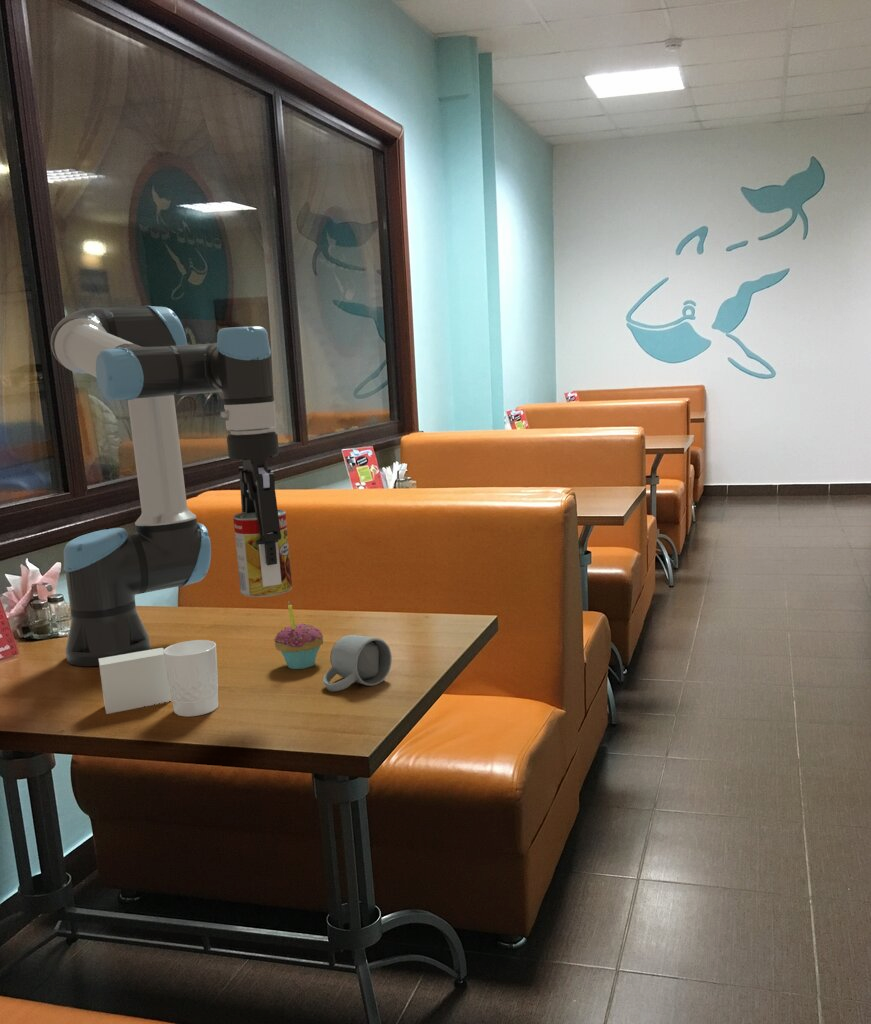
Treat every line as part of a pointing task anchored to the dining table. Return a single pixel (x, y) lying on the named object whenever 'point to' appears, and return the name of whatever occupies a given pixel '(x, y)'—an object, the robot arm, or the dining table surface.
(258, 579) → the canned food
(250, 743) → the dining table surface
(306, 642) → the cupcake
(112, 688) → the off-white rectangular block
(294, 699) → the dining table surface
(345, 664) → the ceramic mug
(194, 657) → the white cup
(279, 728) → the dining table surface
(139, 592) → the robot arm
